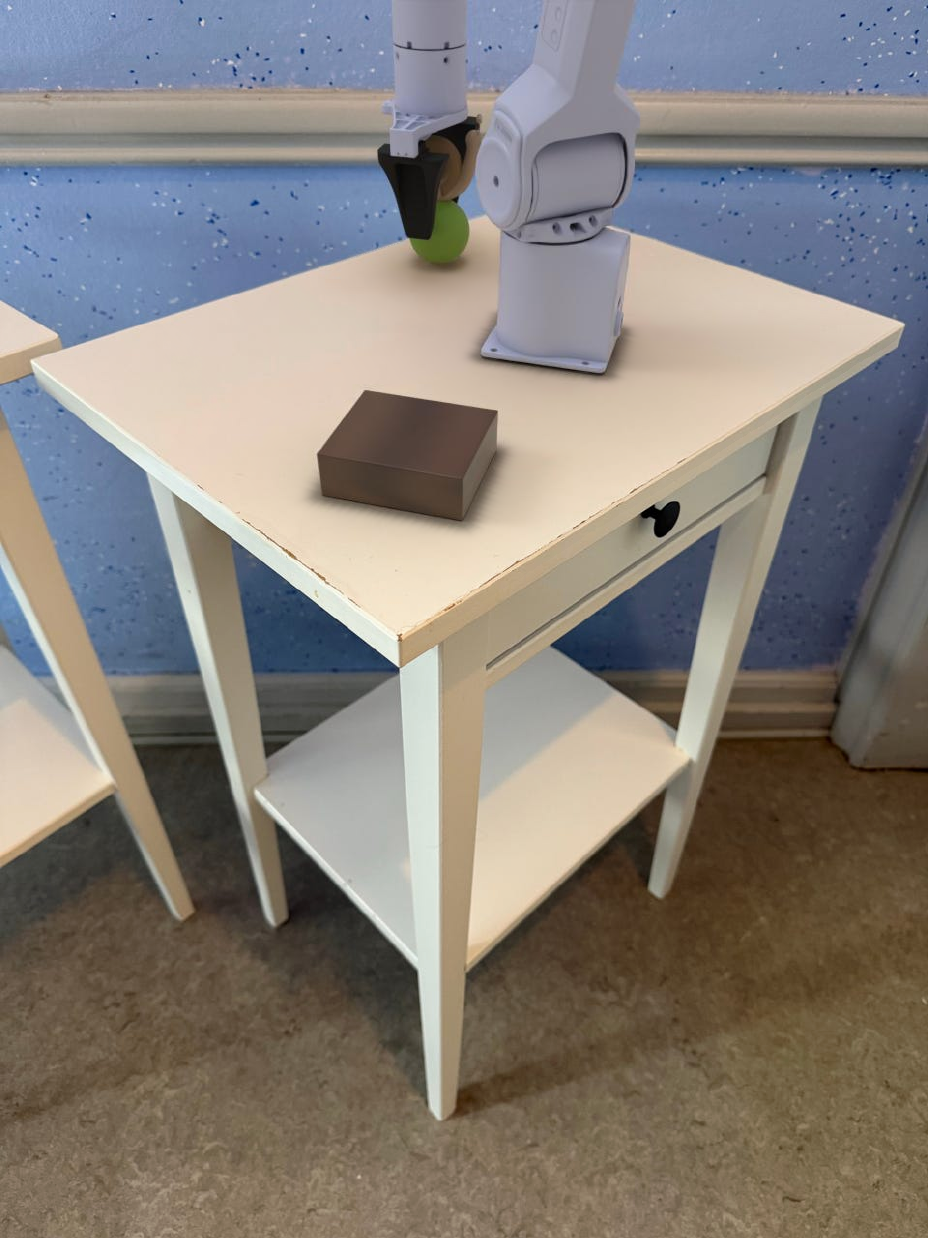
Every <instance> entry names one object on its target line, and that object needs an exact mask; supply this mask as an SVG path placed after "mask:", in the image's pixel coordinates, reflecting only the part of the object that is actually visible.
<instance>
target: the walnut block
mask: <svg viewBox="0 0 928 1238" xmlns="http://www.w3.org/2000/svg"><path fill="white" fill-rule="evenodd" d="M498 416H499V411H498V410H497V409H491V408H490V409H489V408H483V407H478V406H472V405H471V406H470V405H465V404H459V403H452V402H445V401H440V400H433V399H428V398H427V399H425V398H421V397H413V396H409V395H402V394H394V393H388V392H381V391H374V390H369V389H364V390H363V392H362V393H361V394H360V396H358V399H356V401H355V402H354V403H353V405H352V406H351V408H350V409H349V410H348V411H347V413H346V414H345V416H344V417H343V418H342V419H341V421H340V422H339V424H338V425H337V426H336V428H335V429H334V430H333V432H332V433H331V434H330V435H329V437H328V438H327V440H325V442H324V443H323V445H322V446H321V447H320V449H319V450H318V451H317V453H316V458H317V467H318V473H319V474H318V476H319V483H320V492H321V495H322V496H326V497H332V498H335V499H343V500H347V501H348V500H349V501H353V502H358V503H365V504H370V505H375V506H380V507H386V508H391V509H396V510H403V511H406V512H407V511H408V512H413V513H418V514H425V515H429V516H434V517H440V518H445V519H446V518H447V519H451V520H457V521H463V520H464V518H465V515H466V513H467V512H468V510H469V507H470V506H471V503H472V501H473V499H474V497H475V495H476V493H477V491H478V489H479V487H480V485H481V482H482V481H483V478H484V477H485V474H486V472H487V470H488V469H489V466H490V465H491V462H492V460H493V458H494V456H495V455H496V452H497V445H498V422H499V421H498V418H499V417H498Z"/></svg>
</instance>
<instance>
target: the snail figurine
mask: <svg viewBox="0 0 928 1238" xmlns="http://www.w3.org/2000/svg"><path fill="white" fill-rule="evenodd" d="M475 117H476V121H477V123H478V124H479V130H478V131H477V130H471V131H469V132H468V133H467V135H466V139H465V141H466V146H467V148H466V153H465V157H464V161H463V164H462V160H461V156H460V154H459V152H458V150H457V148H456V147H455V146H454V144H453V143H451V142H450V141H449V140H447V139H446V138H444V137H441V136H429V137H428V138H427V139H426V140H425V141H426V149H427V148H430V152H434V153H444V154H450V157H449V159H448V161H447V164H446V166H445V168H444V171H443V174H442V177H441V181H440V185H439V189H438V195H437V202H436V212H435V221H434V228H433V232H432V236H431V238H430V239H429V240H423V239H414V238H408V239H409V242H410V246H411V247H412V249H413V250H414V252H415V253H416V254H417V255H418V256H419V257H420V258H421V259H422V260H424V261H425V262H428V263H431V264H436V265H437V264H438V265H442V264H447V263H450V262H452V261H454V260H456V259H457V258H458V257H459V256H461V254H462V253H463V252H464V251H465V249H466V247H467V245H468V243H469V239H470V223H469V220H468V216H467V215H466V213H465V211H464V210H463V208H462V207H461V206H460V205H459V203H458V204H457V203H455V202H454V201H452V200H451V199H453V198H455V197H457V196H459V195H460V196H461V195H462V194H464V193H465V192H466V191H467V189H468V188H469V186H470V184H471V182H472V180H473V177H474V176H475V167H476V159H477V154H478V151H479V149H480V146H481V143H482V140H483V139H484V137H483V134H482V133H481V125H482V123H483V115H482V114H481V113H478V114H476V116H475ZM460 196H459V197H460Z"/></svg>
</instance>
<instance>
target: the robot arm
mask: <svg viewBox="0 0 928 1238" xmlns="http://www.w3.org/2000/svg"><path fill="white" fill-rule="evenodd" d="M636 5H637V0H543V3H542V8H541V13H540V19H539V25H538V29H537V37H536V40H535V46H534V52H533V58H532V62H531V64H530V65H529V67H528V68H527V69H526V70H525V71H524V72H523V73H522V74H521V75H520V76H518V78H516V79H515V80H514V82H512V84H510V85H509V86H508V87H507V88H506V89H505V90H504V91H503V92H502V93H501V94H500V95H499V96H498V97H497V98H496V99H495V101H494V102H493V108H492V115H491V120H490V123H489V127H488V129H487V132H486V133H485V135H484V137H483V138H482V140H481V142H482V143H481V146H480V149H479V151H478V154H477V159H476V167H475V171H474V176H475V177H474V178H475V186H476V192H477V197H478V200H479V203H480V206H481V209H482V210H483V212H484V214H485V215H486V216H487V218H488V219H489V221H491V223H492V224H493V226H495V227H496V228H497V229H499V230H500V235H499V262H498V289H497V313H496V314H497V315H496V317H497V319H496V323H495V326H493V329H492V330H491V332H490V334H489V335H488V337H487V339H486V340H485V342H484V344H483V346H482V347H481V351H480V355H481V356H483V357H486V358H492V359H498V360H506V361H512V362H513V361H514V362H521V363H526V364H534V365H539V366H540V365H541V366H548V367H554V368H562V369H566V370H567V369H569V370H575V371H581V372H589V373H594V374H595V373H596V374H602V373H605V371H606V370H607V367H608V365H609V362H610V360H611V357H612V354H613V351H614V348H615V345H616V344H617V340H618V338H619V337H620V335H621V332H622V327H623V321H624V311H623V307H624V299H625V292H626V286H627V285H626V284H627V277H628V268H629V263H630V253H631V234H629V233H627V232H623V231H618V230H615V229H612V228H610V226H611V225H612V219H613V211H614V210H616V209H618V208H619V207H621V205H623V204H624V203H625V201H626V199H627V198H628V196H629V194H630V191H631V189H632V185H633V183H634V182H633V181H634V177H635V170H636V155H635V151H636V149H635V148H636V140H637V136H638V131H639V128H640V124H641V121H642V117H641V114H640V113H639V111H638V109H637V107H636V104H635V103H634V101H633V100H632V97H630V96H629V94H628V93H627V92H626V91H625V90H624V89H623V88H622V87H621V86H620V84H619V83H618V82H617V79H618V75H619V70H620V67H621V63H622V59H623V54H624V52H625V47H626V44H627V40H628V35H629V32H630V27H631V23H632V20H633V16H634V12H635V8H636ZM391 20H392V21H391V26H392V45H393V46H392V48H393V76H394V99H393V98H390V99H387V100H385V101H383V102H382V103H381V113H382V114H383V115H391V116H392V117H393V125H392V126H391V127H390V128H389V143H385V142H384V143H383V144H382V145H381V146H379V147H378V148H377V149H376V154H377V163H378V165H379V166H380V167H381V170H382V171H383V173H384V175H385V176H386V178H387V181H388V183H389V184H390V186H391V189H392V192H393V194H394V197H395V201H396V204H397V208H398V211H399V215H400V220H401V223H402V227H403V230H404V233H405V236H406V238H408V239H409V238H414V239H423V240H429V239H430V238H431V236H432V232H433V228H434V221H435V212H436V202H437V195H438V189H439V185H440V181H441V177H442V174H443V171H444V168H445V166H446V164H447V161H448V159H449V157H450V154H444V153H434V152H430V148H427V149H426V141H425V140H426V139H427V138H428V137H429V136H441V137H444V138H446V139H447V140H449V141H450V142H451V143H453V144H454V146H455V147H456V148H457V150H458V152H459V154H460V156H461V160H462V164H463V161H464V157H465V153H466V148H467V146H466V141H465V139H466V135H467V133H468V132H469V131H471V130H477V131H479V124H478V123H477V121H476V117H477V116H473V115H472V116H471V115H469V105H468V102H467V91H468V90H467V83H466V82H467V0H391ZM460 196H461V195H459V196H457V197H455V198H453V199H451V200H452V201H454V202H455V203H457V204H458V205H459V199H460Z"/></svg>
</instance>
